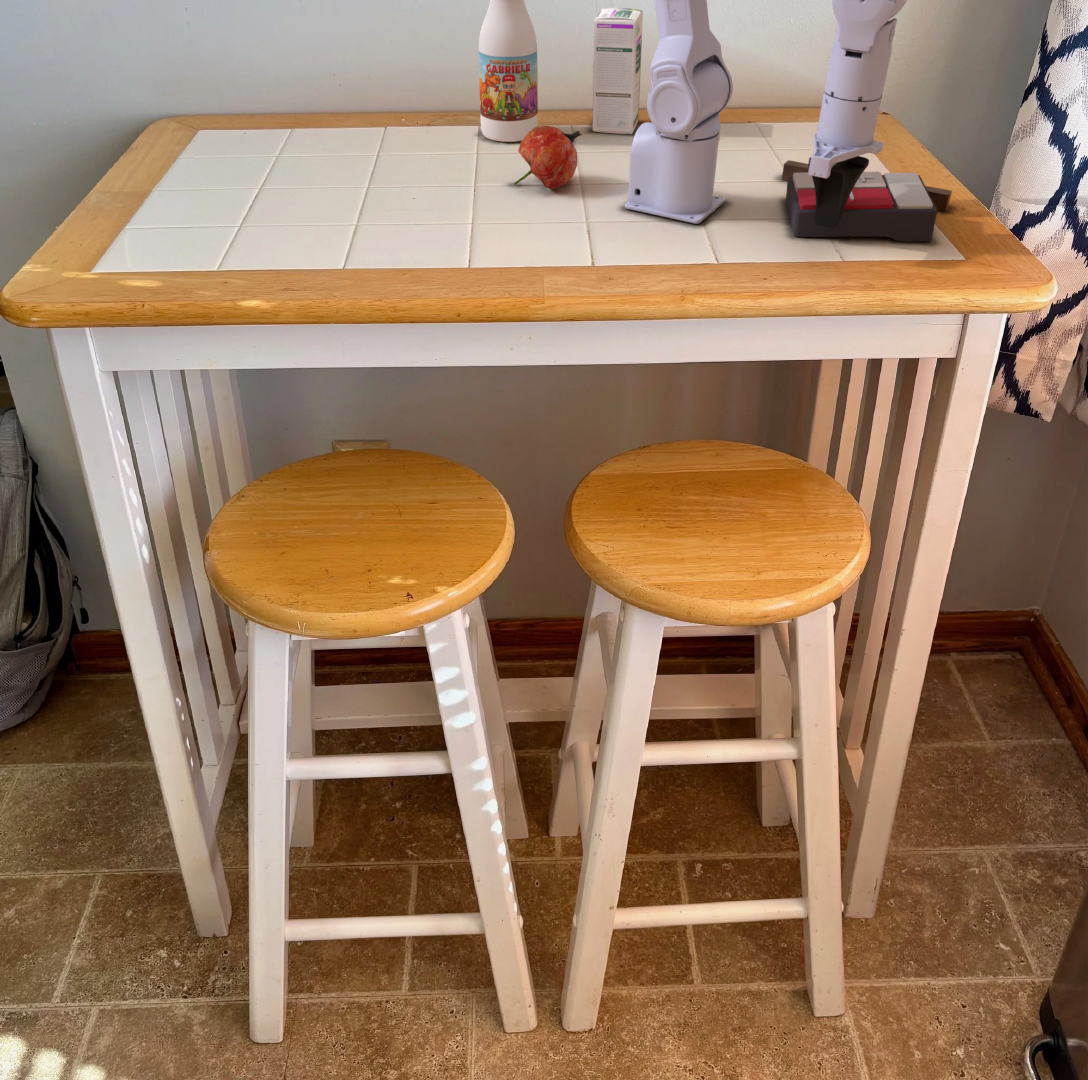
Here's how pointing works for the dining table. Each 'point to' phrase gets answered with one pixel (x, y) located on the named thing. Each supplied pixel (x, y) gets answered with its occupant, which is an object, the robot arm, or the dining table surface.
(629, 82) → the syrup box
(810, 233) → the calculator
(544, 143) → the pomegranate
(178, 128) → the dining table surface
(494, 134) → the milk bottle
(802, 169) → the bar
